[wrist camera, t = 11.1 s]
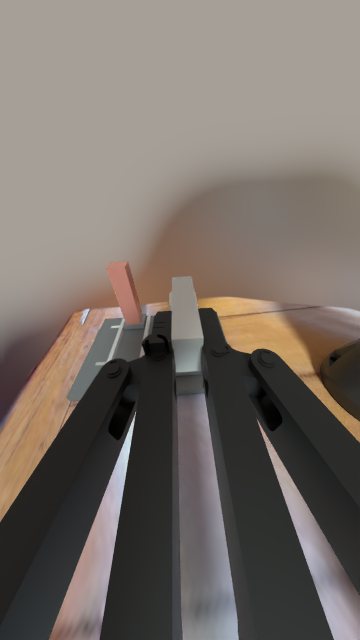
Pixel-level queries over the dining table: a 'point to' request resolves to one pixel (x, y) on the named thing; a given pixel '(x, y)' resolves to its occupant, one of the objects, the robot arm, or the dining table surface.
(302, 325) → the dining table surface
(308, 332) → the dining table surface
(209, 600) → the dining table surface
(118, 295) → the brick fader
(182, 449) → the dining table surface
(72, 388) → the console
